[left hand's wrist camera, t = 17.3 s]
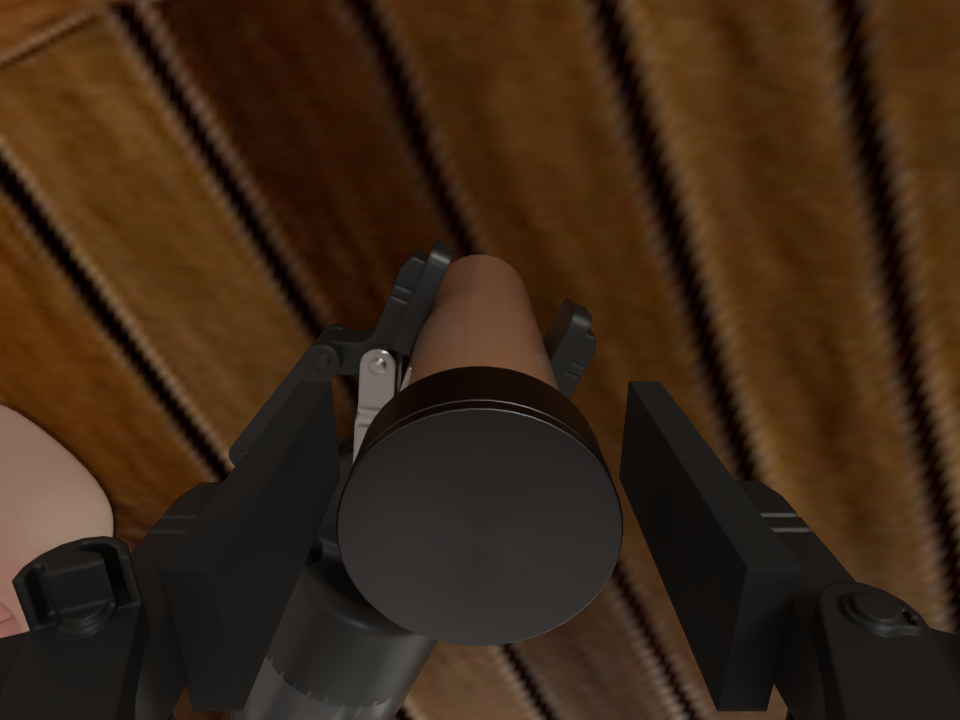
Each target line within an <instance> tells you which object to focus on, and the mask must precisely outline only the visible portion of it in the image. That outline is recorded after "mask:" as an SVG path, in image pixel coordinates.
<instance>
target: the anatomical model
mask: <svg viewBox="0 0 960 720" xmlns="http://www.w3.org/2000/svg"><path fill="white" fill-rule="evenodd" d="M113 524H114V523H113V514H112V509H111V506H110V503H109V501H108V499H107V497H106V495H105V493H104V491H103V489H102V488H101V486H100V485H99V484H98V482H97V481H96V480H95V478H94V477H93V476H92V475H91V474H90V472H89V471H88V470H87V469H86V468H85V467H84V466H83V465H82V464H81V463H80V462H79V461H78V460H77V459H76V458H75V457H74V456H73V455H72V454H71V453H70V452H69V451H68V450H67V449H65V448H64V447H63V446H62V445H61V444H60V443H59V442H57V441H56V440H55V439H54V438H52V437H51V436H50V435H49V434H47V433H46V432H45V431H44V430H42V429H41V428H40V427H39V426H37V425H36V424H34V423H33V422H31V421H30V420H28V419H27V418H25V417H24V416H22V415H21V414H19V413H18V412H16V411H14V410H12V409H10V408H8V407H5V406H3V405H0V638H3V637H7V636H11V635H16V634H20V633H24V632H27V631H29V627H28V624H27V622H26V619H25V616H24V614H23V611H22V608H21V605H20V603H19V600H18V597H17V594H16V592H15V589H14V586H13V584H12V580H13V579H14V577H15V576H16V575H17V574H18V573H19V571H20V570H21V569H22V568H23V567H24V566H25V565H27V564H28V563H30V562H31V561H32V560H34V559H35V558H37V557H38V556H39V555H41V554H43V553H45V552H47V551H49V550H51V549H53V548H55V547H58V546H60V545H62V544H65V543H68V542H72V541H75V540H79V539H82V538H88V537H98V536H108V537H113Z"/></svg>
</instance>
